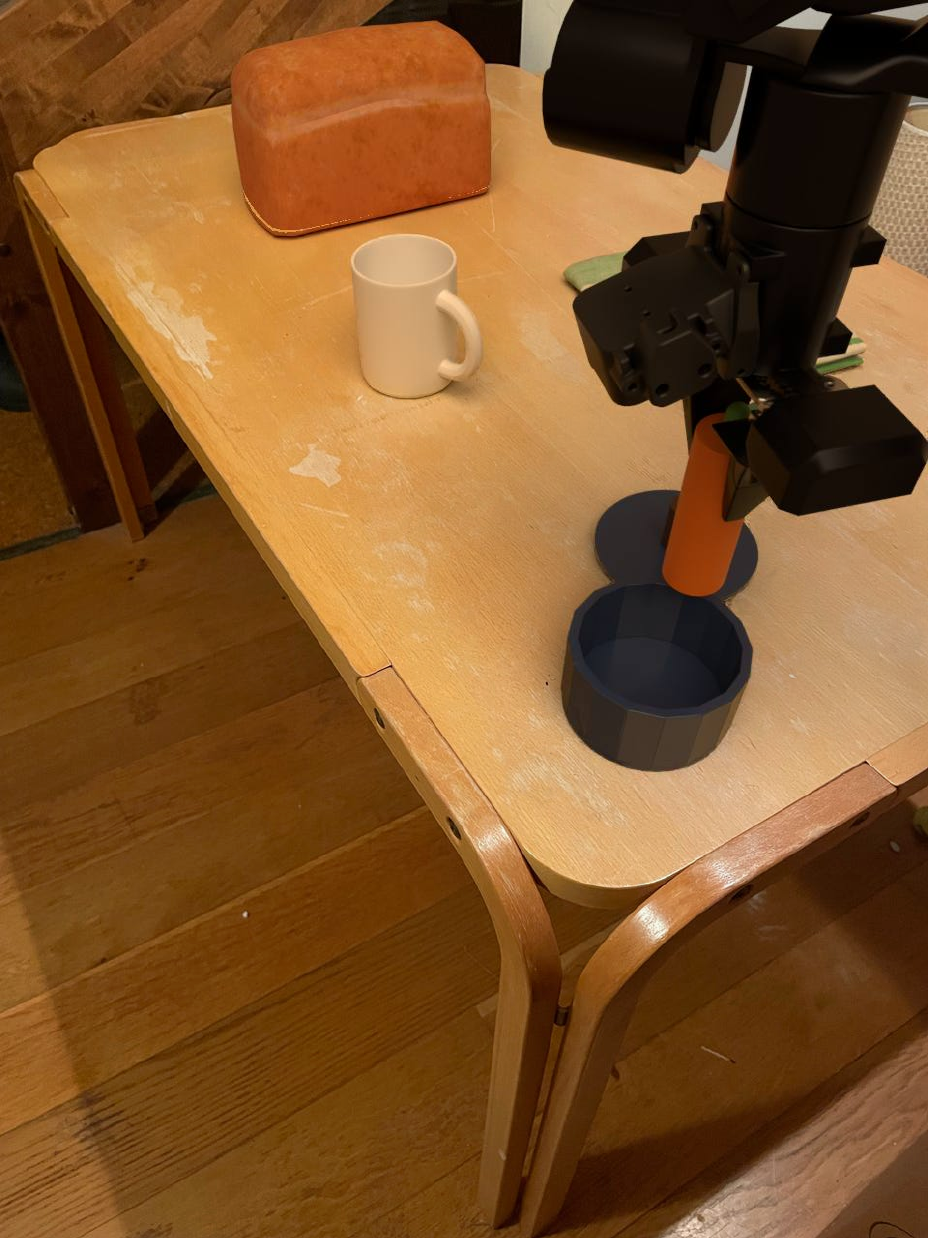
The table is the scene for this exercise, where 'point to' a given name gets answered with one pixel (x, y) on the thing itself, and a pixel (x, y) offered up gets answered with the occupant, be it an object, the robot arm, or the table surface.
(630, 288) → the robot arm
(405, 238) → the mug
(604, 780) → the table surface
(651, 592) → the pot
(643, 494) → the lid
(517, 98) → the table surface
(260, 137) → the bread
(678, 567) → the carrot
